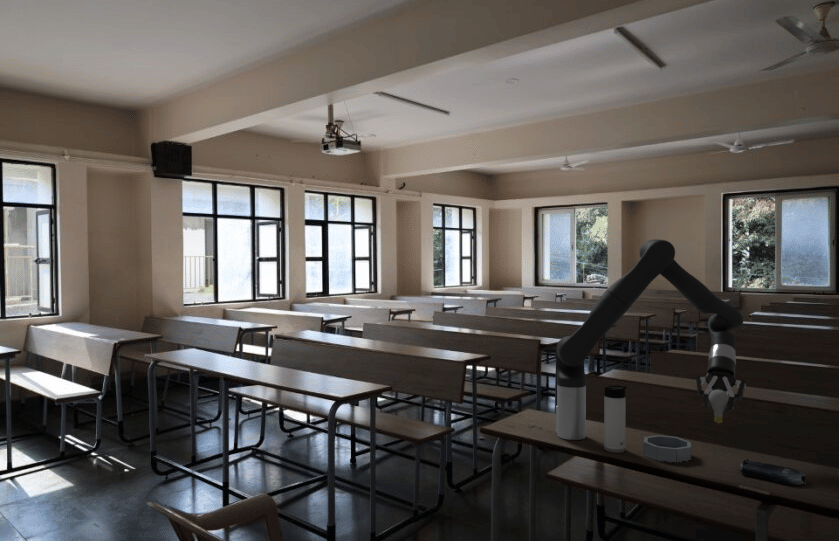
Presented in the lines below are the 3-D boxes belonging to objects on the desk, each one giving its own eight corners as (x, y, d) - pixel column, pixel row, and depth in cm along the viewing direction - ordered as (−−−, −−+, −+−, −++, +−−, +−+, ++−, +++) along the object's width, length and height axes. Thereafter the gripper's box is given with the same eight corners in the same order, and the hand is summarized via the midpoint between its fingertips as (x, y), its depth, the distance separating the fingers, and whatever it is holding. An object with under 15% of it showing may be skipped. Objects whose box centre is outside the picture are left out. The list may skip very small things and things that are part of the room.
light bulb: (710, 419, 183) (710, 386, 183) (730, 422, 180) (730, 389, 180) (706, 423, 179) (706, 390, 179) (727, 426, 176) (727, 392, 176)
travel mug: (627, 453, 184) (628, 388, 184) (605, 452, 185) (605, 387, 185) (625, 447, 190) (625, 383, 190) (603, 446, 191) (603, 383, 191)
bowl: (634, 451, 186) (634, 438, 186) (667, 446, 191) (667, 433, 191) (666, 464, 174) (666, 450, 174) (700, 459, 179) (700, 445, 179)
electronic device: (739, 482, 165) (804, 487, 155) (737, 461, 166) (801, 465, 156) (747, 477, 172) (809, 482, 162) (745, 457, 173) (806, 461, 163)
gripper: (695, 352, 189) (690, 398, 179) (748, 357, 182) (745, 405, 172) (697, 367, 194) (692, 412, 184) (748, 371, 187) (746, 419, 177)
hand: (718, 408), depth 178 cm, fingers closed on light bulb, 5 cm apart
